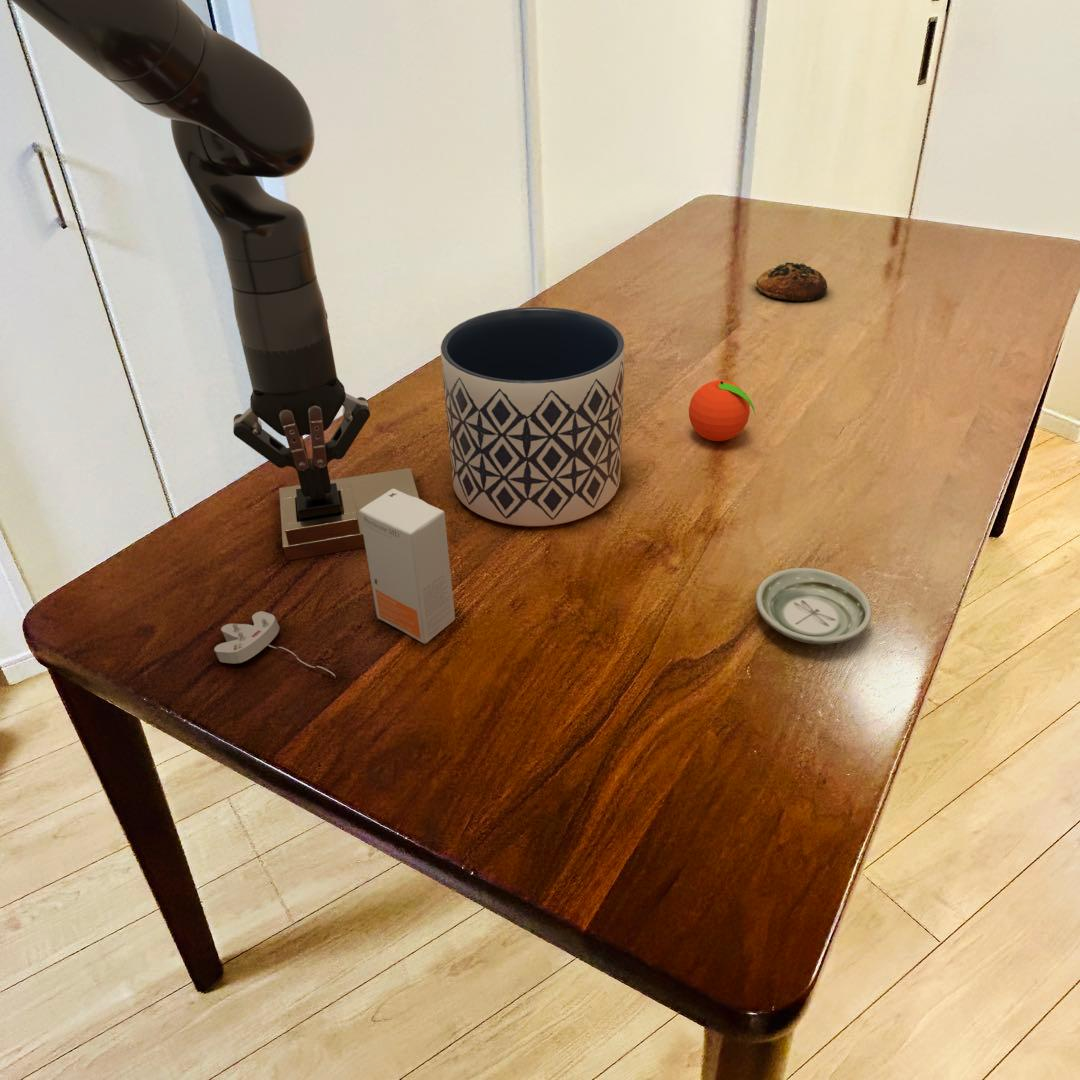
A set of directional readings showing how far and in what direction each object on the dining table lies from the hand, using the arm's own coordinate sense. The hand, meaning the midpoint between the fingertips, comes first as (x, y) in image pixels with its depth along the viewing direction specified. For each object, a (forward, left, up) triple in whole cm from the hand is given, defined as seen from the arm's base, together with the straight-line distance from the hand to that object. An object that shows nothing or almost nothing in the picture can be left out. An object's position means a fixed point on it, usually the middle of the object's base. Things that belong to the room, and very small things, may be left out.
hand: (318, 495), depth 89 cm
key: (0, 0, -2) cm, 2 cm away
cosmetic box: (+7, -16, -5) cm, 18 cm away
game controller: (-5, -18, -5) cm, 19 cm away
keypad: (+3, +2, -5) cm, 6 cm away
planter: (+23, +3, -5) cm, 24 cm away
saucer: (+40, -26, -5) cm, 48 cm away
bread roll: (+76, +46, -5) cm, 89 cm away
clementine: (+46, +6, -5) cm, 47 cm away
